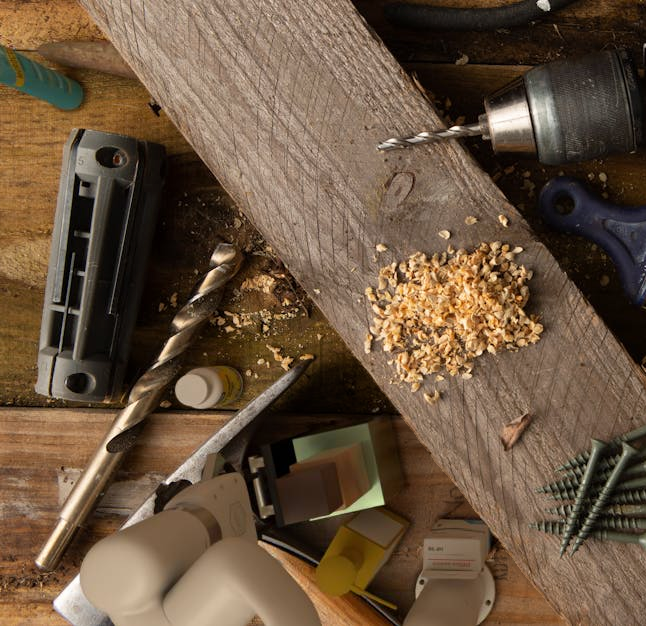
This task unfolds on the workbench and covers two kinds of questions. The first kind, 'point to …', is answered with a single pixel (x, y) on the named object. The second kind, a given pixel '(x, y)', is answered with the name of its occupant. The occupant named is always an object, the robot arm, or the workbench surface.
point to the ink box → (456, 549)
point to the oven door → (273, 473)
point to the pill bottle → (209, 387)
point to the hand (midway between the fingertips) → (252, 502)
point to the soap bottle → (360, 552)
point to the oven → (375, 449)
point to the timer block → (309, 493)
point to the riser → (343, 470)
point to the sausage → (88, 56)
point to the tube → (38, 80)
